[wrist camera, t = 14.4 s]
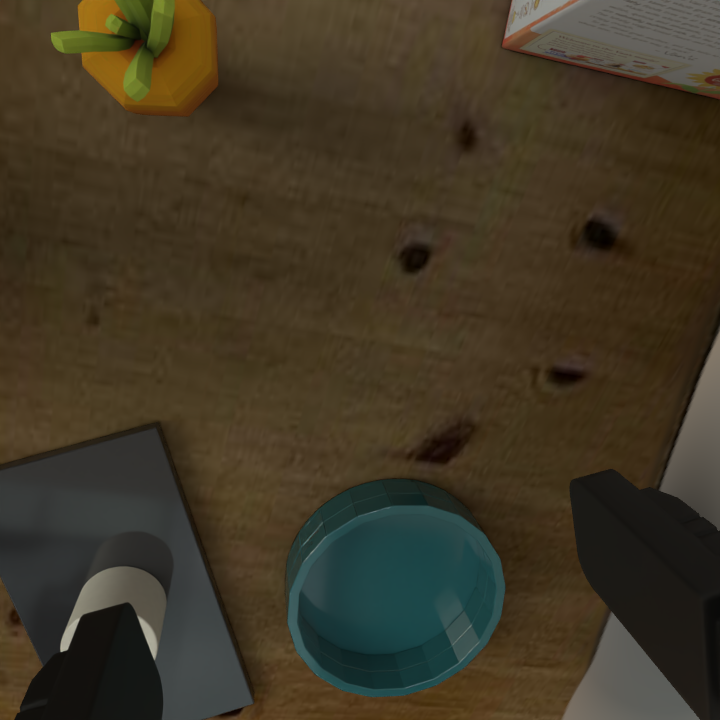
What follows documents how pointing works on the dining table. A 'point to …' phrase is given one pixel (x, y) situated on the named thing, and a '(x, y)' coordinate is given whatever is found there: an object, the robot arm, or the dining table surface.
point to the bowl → (392, 588)
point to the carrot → (147, 52)
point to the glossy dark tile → (119, 559)
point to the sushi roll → (122, 601)
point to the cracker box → (625, 38)
